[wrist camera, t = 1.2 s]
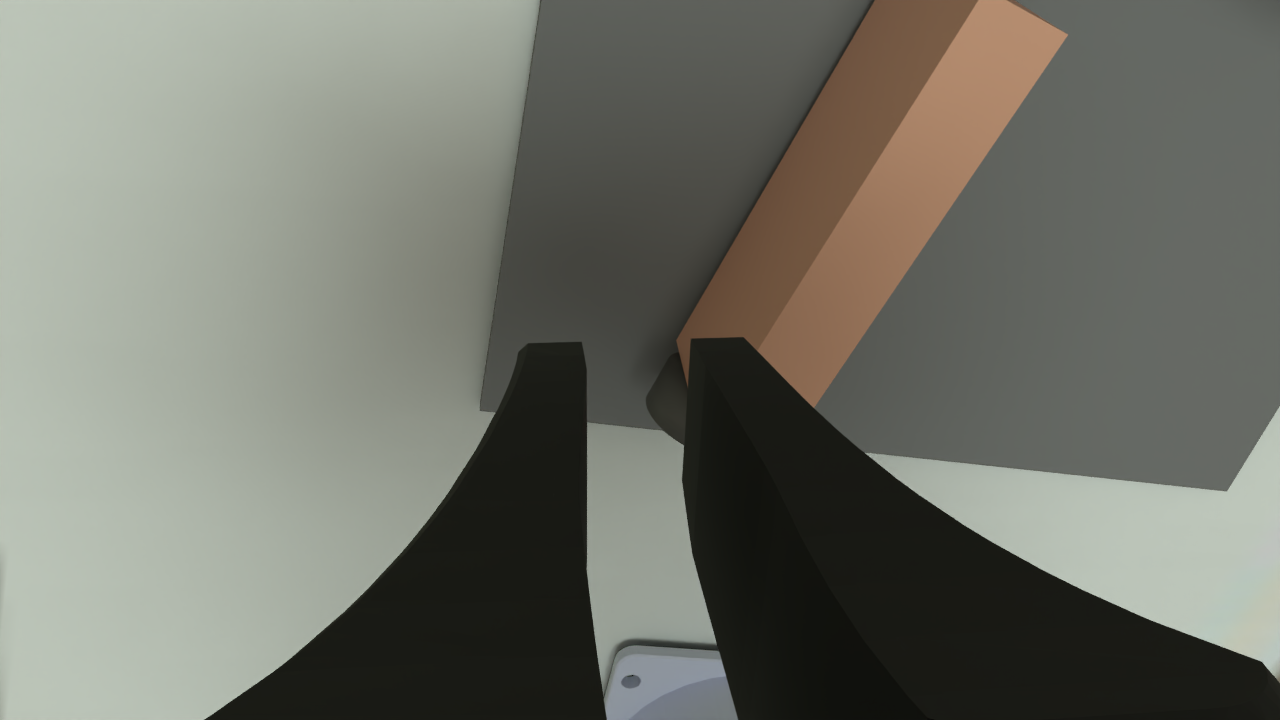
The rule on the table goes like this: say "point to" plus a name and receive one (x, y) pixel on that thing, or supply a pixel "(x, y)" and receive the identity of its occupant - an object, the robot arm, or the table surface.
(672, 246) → the mat
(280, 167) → the table surface
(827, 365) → the tan rectangular bar
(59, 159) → the table surface
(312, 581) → the table surface
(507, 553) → the robot arm
